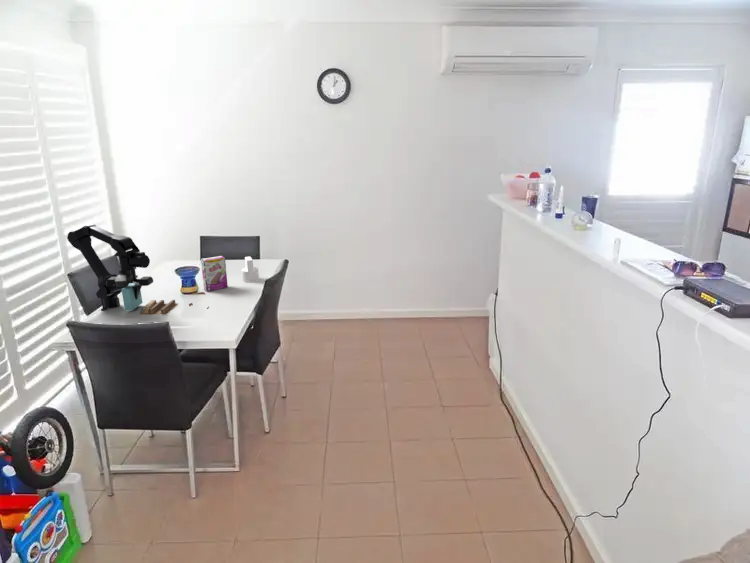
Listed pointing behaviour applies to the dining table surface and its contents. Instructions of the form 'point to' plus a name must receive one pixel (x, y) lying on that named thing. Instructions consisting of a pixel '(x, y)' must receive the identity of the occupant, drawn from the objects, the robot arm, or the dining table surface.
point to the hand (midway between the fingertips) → (132, 299)
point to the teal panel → (130, 297)
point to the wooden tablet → (196, 294)
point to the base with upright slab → (249, 271)
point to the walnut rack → (161, 308)
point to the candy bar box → (214, 273)
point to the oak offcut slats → (149, 306)
